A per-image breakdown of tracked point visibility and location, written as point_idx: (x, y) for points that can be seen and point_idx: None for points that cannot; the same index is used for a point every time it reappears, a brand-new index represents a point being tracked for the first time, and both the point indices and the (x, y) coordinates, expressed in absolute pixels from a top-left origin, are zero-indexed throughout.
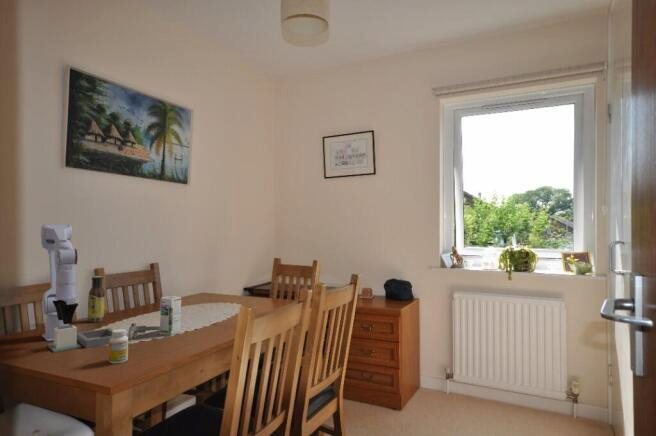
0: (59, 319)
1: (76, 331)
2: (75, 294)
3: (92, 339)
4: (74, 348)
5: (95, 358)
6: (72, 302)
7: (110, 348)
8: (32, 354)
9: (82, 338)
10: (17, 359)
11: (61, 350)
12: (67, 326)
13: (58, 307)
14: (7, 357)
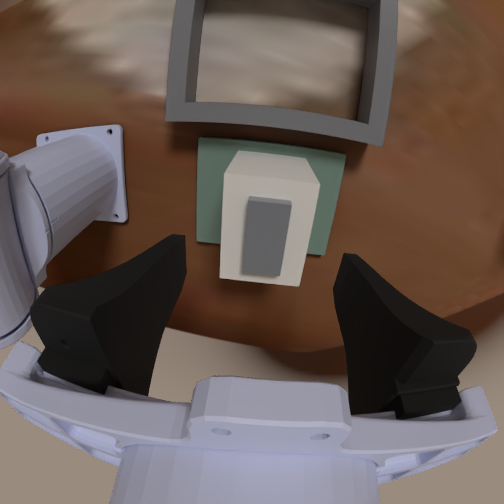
0: (183, 274)
1: (314, 178)
2: (214, 438)
3: (380, 115)
4: (340, 179)
5: (492, 191)
6: (479, 403)
7: None
8: (282, 300)
9: (301, 130)
10: (302, 334)
11: (329, 228)
12: (286, 236)
13: (152, 350)
14: (256, 343)
